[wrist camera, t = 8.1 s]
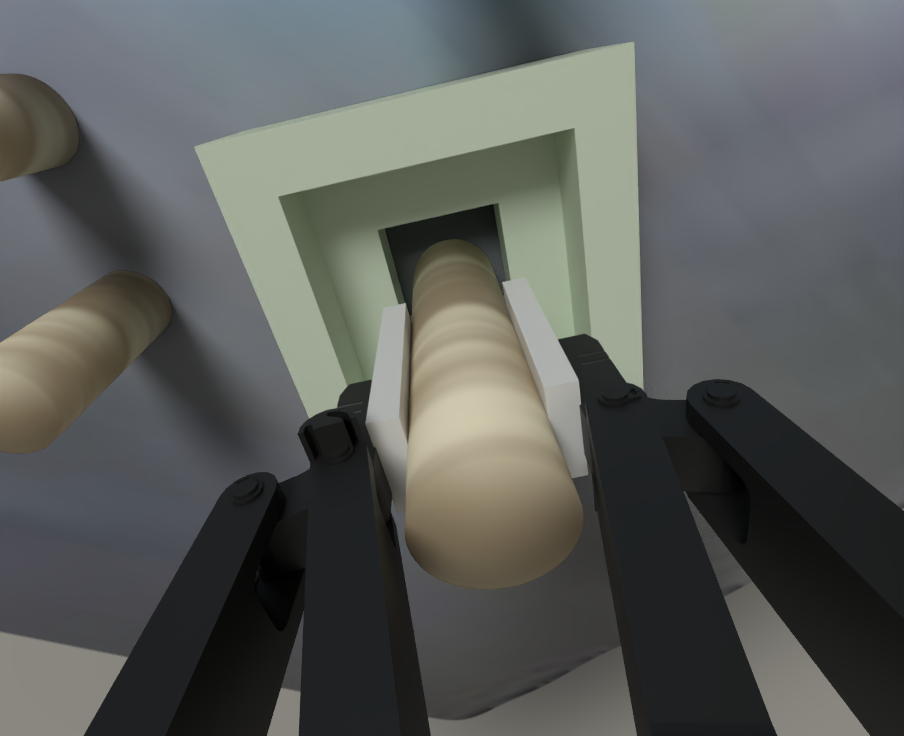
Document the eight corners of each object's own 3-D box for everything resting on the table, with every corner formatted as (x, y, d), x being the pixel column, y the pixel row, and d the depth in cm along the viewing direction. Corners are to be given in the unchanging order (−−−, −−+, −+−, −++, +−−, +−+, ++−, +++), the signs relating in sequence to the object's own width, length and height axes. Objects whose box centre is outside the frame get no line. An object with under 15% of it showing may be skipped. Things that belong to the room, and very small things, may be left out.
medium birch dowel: (80, 279, 24) (-86, 378, 16) (150, 263, 24) (17, 356, 16) (118, 343, 25) (-14, 462, 18) (184, 329, 25) (79, 442, 17)
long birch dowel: (404, 249, 21) (383, 481, 9) (485, 230, 21) (575, 442, 9) (423, 322, 23) (427, 601, 11) (499, 306, 23) (590, 572, 11)
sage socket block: (244, 130, 21) (194, 146, 16) (583, 49, 20) (633, 41, 16) (348, 407, 28) (333, 475, 23) (604, 354, 27) (643, 413, 23)
